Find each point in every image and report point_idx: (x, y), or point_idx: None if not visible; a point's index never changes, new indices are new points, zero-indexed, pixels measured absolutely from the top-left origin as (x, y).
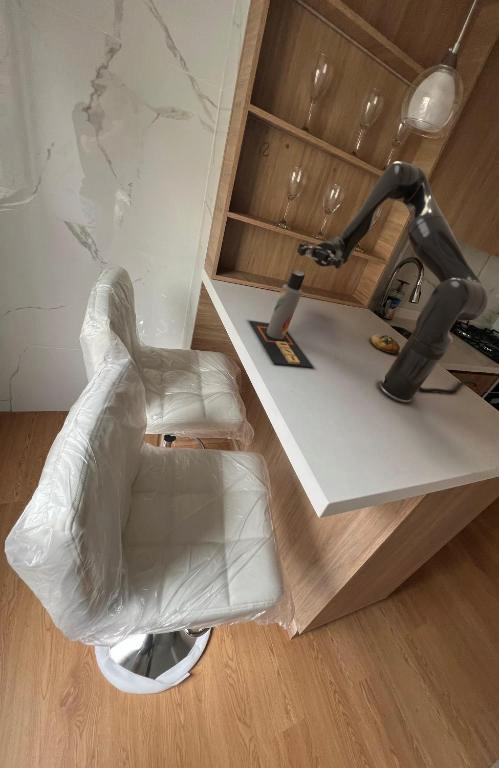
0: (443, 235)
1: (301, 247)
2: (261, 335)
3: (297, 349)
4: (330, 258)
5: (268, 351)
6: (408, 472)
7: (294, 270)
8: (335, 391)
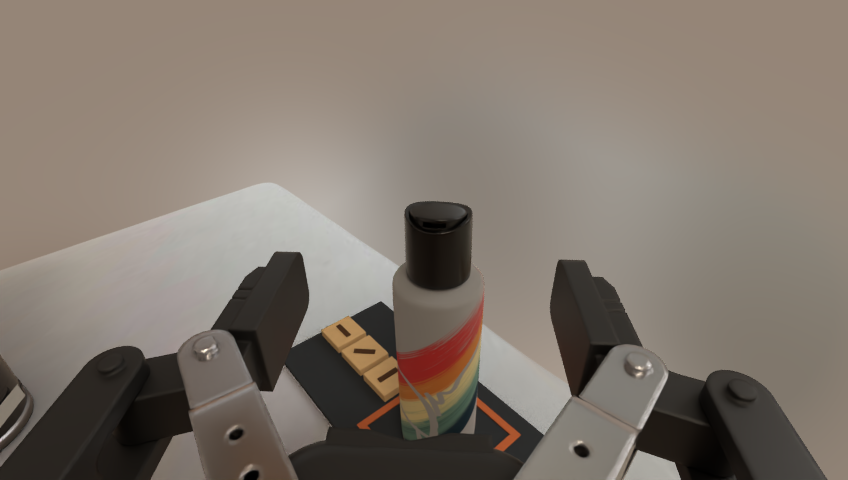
0: None
1: (679, 382)
2: None
3: (337, 407)
4: (270, 277)
5: None
6: (134, 232)
7: (463, 212)
8: None
